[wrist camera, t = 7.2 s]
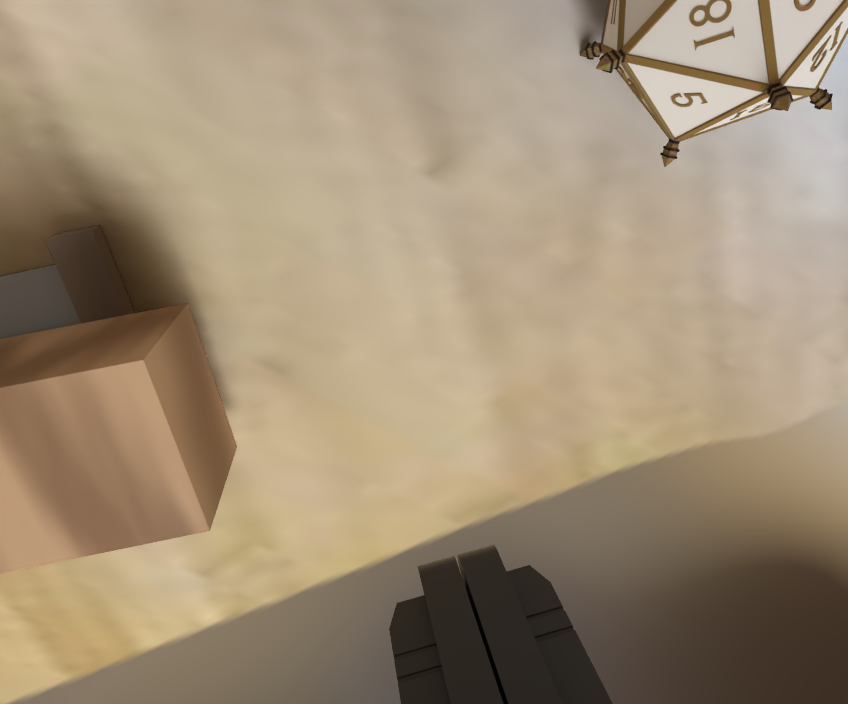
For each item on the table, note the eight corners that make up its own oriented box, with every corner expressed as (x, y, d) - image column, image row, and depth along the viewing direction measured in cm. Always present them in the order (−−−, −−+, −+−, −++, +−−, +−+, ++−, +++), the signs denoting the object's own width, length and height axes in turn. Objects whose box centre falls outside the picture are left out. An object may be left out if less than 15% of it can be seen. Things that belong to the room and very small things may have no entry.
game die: (563, 18, 25) (529, -191, 16) (788, -78, 23) (910, -398, 13) (623, 222, 24) (626, 132, 15) (864, 145, 22) (1054, -23, 12)
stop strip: (99, 224, 21) (91, 230, 20) (209, 501, 26) (206, 516, 25) (55, 234, 21) (44, 240, 20) (174, 511, 26) (170, 525, 25)
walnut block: (143, 359, 17) (-228, 432, 16) (209, 530, 19) (-113, 597, 19) (187, 302, 21) (-101, 358, 21) (236, 446, 24) (-22, 498, 23)
